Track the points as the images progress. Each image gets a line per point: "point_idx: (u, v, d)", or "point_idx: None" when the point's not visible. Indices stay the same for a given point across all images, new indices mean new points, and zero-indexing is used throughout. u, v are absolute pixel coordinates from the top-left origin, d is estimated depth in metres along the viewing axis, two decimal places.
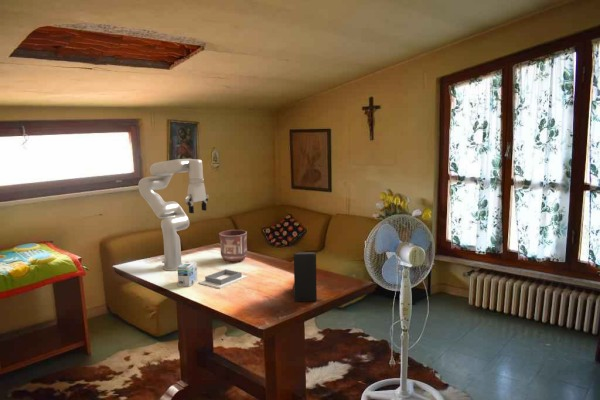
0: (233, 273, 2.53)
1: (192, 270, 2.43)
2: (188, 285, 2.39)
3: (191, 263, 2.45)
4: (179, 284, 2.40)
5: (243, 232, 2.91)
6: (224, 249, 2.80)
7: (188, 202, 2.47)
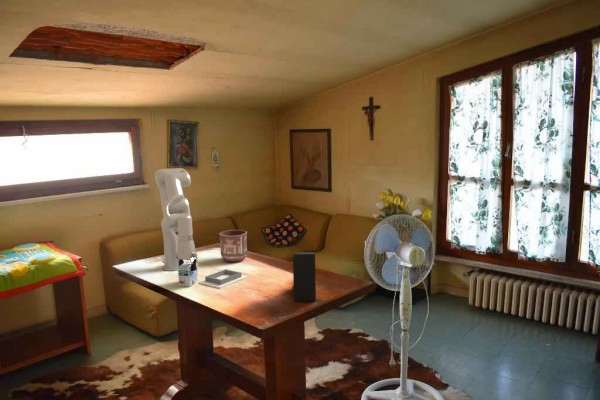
0: (233, 273, 2.53)
1: None
2: (189, 285, 2.39)
3: None
4: (179, 284, 2.40)
5: (243, 232, 2.91)
6: (224, 249, 2.80)
7: (197, 259, 2.38)
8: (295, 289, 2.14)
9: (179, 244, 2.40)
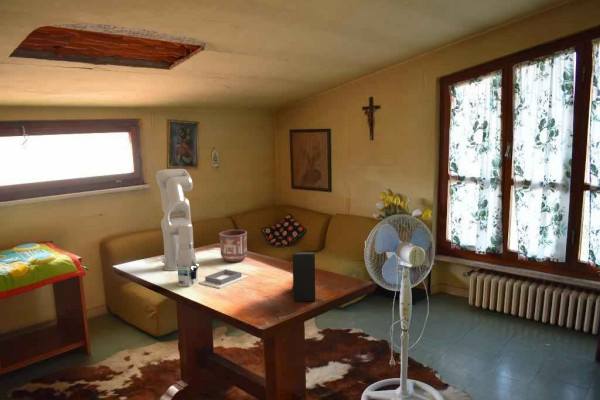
0: (233, 273, 2.53)
1: None
2: (188, 285, 2.39)
3: None
4: (179, 284, 2.40)
5: (243, 232, 2.91)
6: (224, 249, 2.80)
7: (197, 267, 2.40)
8: (295, 289, 2.14)
9: (180, 252, 2.41)
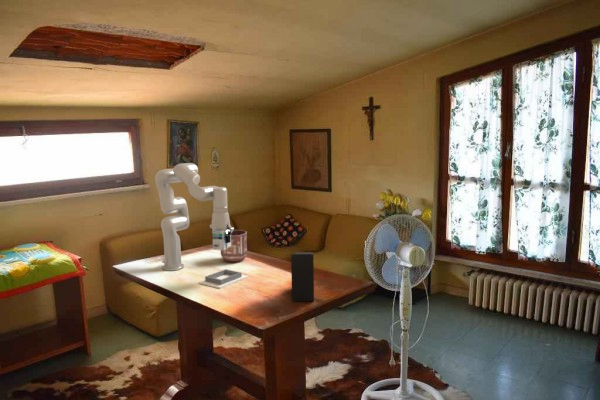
0: (233, 273, 2.53)
1: None
2: (223, 248, 2.40)
3: None
4: (214, 247, 2.41)
5: (243, 232, 2.91)
6: None
7: None
8: (293, 289, 2.14)
9: (215, 216, 2.42)
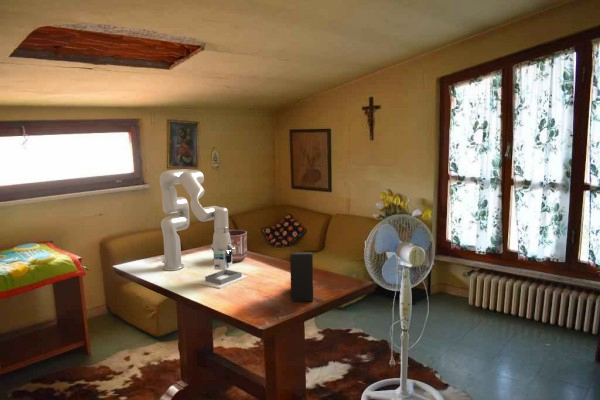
0: (233, 273, 2.53)
1: None
2: (224, 268, 2.42)
3: None
4: (215, 267, 2.43)
5: (243, 232, 2.91)
6: None
7: None
8: (292, 289, 2.14)
9: (216, 236, 2.44)
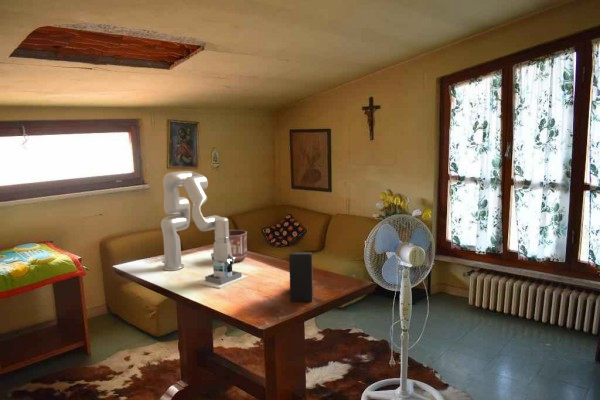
0: (233, 273, 2.53)
1: None
2: None
3: None
4: None
5: (243, 232, 2.91)
6: None
7: (233, 261, 2.43)
8: (291, 289, 2.14)
9: (216, 246, 2.44)
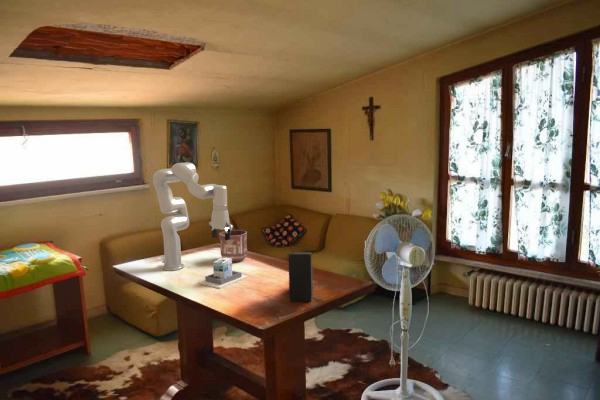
0: (233, 273, 2.53)
1: (228, 265, 2.46)
2: None
3: (226, 259, 2.49)
4: None
5: (243, 232, 2.91)
6: (224, 249, 2.80)
7: (231, 229, 2.43)
8: (291, 289, 2.15)
9: (214, 214, 2.45)
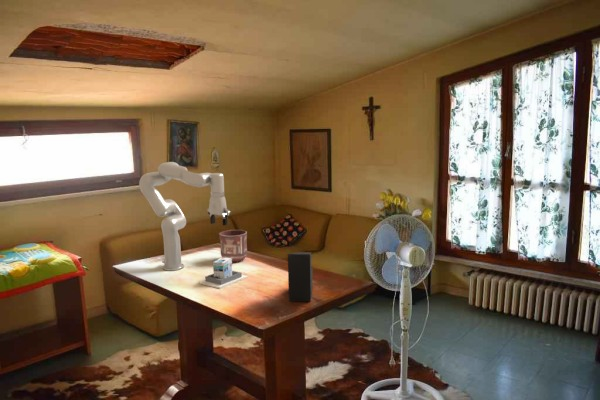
0: (233, 273, 2.53)
1: (228, 265, 2.46)
2: None
3: (226, 259, 2.49)
4: None
5: (243, 232, 2.91)
6: (224, 249, 2.80)
7: (228, 214, 2.56)
8: (290, 289, 2.15)
9: (212, 200, 2.57)
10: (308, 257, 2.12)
